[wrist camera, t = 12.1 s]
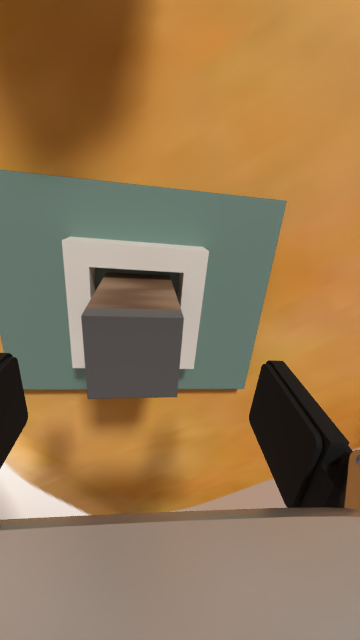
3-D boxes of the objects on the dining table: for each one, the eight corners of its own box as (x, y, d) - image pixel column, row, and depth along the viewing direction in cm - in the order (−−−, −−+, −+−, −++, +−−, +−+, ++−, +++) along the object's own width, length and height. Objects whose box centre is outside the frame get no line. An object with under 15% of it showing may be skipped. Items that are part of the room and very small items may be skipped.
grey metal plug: (169, 275, 19) (183, 318, 12) (166, 330, 21) (176, 397, 14) (106, 272, 19) (80, 315, 11) (108, 329, 20) (87, 398, 13)
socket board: (279, 201, 19) (302, 200, 16) (240, 382, 25) (251, 403, 23) (-24, 168, 16) (-58, 160, 13) (17, 382, 22) (-1, 406, 20)
